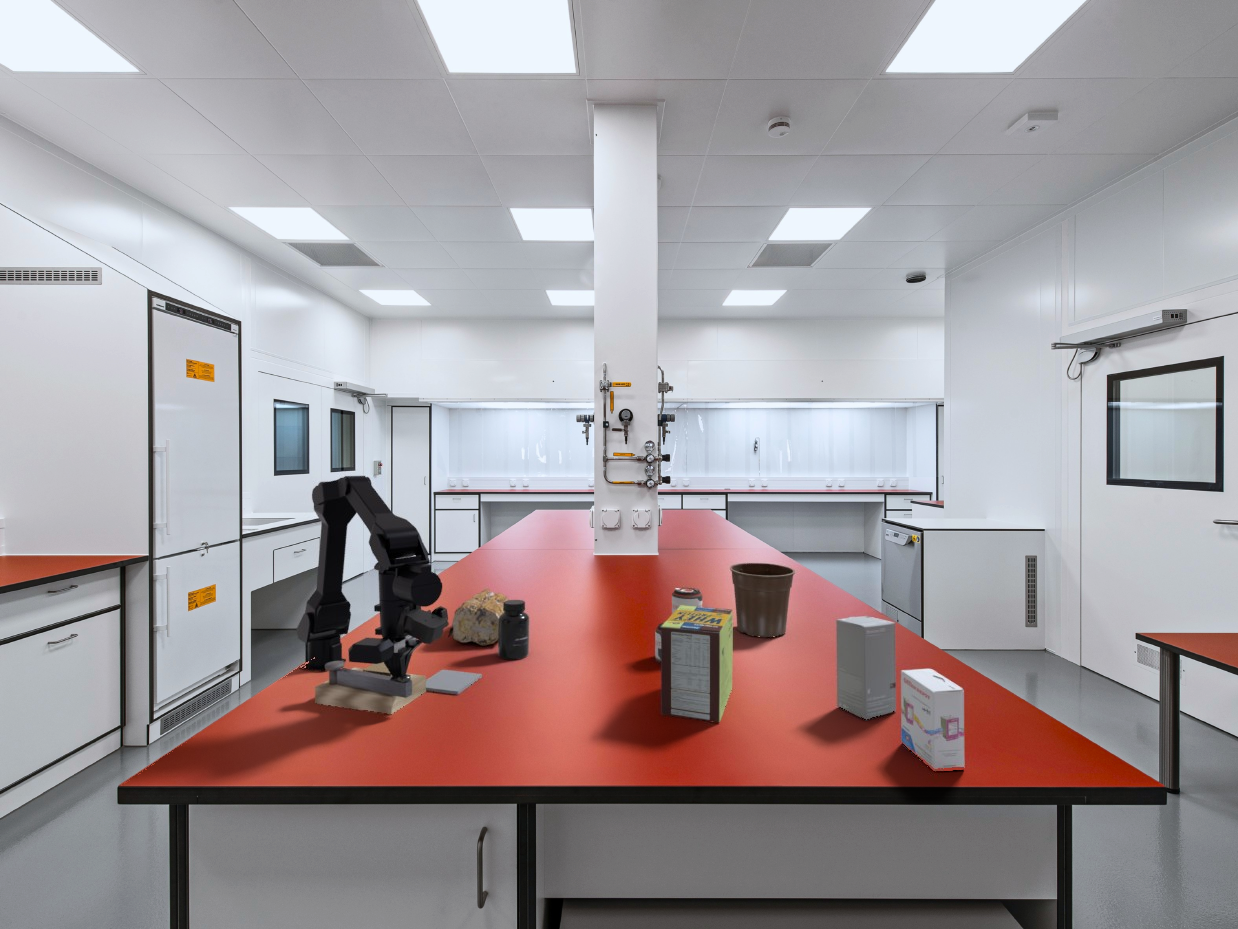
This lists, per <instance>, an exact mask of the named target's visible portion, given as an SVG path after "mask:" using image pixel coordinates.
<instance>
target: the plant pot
mask: <svg viewBox="0 0 1238 929" xmlns="http://www.w3.org/2000/svg"><path fill="white" fill-rule="evenodd" d="M729 569H730V572H731V579H732V585H733V589H734V599H735V603H734V604H735V614H736V629H737V631H738V632H740V633H741V634H747V635H748V636H749V635H753V636H752V637H754V636H760V637H773V636H777V637H779V636H781V635H782V634H784V633H785V632H787V622H788V612H789V600H790V593H791V588H792V586H793V580H794V579H793V578H794V575H795V574H796V571H795V569H793V568H792V567H790V566H786V565H780V564H775V563H768V562H767V563H765V562H743V563H736V564H732V565H730V567H729ZM785 634H786V633H785ZM785 634H784V635H785ZM782 636H783V635H782Z"/></svg>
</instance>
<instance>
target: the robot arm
mask: <svg viewBox="0 0 1238 929" xmlns="http://www.w3.org/2000/svg"><path fill="white" fill-rule="evenodd" d="M311 500H312V503H313V511H314V512H315V514H316V515H317V517H318V519H319V520H320V523H321V526H320V527H321V529H320V539H319V552H318V554H319V555H318V565H317V577H316V589H315V591H314V592H313V594H311V596H310V598H309V599H308V600H307V601H306V605H305V611H304V613H303V614H302V617H301V620H300V621H299V623H298V625H297V627H296V632H297V633H296V634H297V640H300V641H301V642H304V643H305V647H304V648H305V651H304V652H305V654H304V656H305V659H304V660H305V663H306V662H308V661H309V663H308V664H306V665H305V666H306V668H304V667H305V666H303V667H302V668H304V669H302V668H299V669H300V670H301V669H302V670H309V671H315V670H316V671H317V672H327V670H325V664H326V663H329V662H332V661H343V662H344V663H345V662H346V661H347V659H346V658H344V657H343V646H342V645H343V643H342V641H341V640H342V638H341V637H342V635H348V633H349V627H350V622H351V616H352V612H351V607H352V606H351V603H350V601H349V600H348V599H347V598H346V596H345V594H344V593H343V582H344V569H345V558H346V544H347V534H348V525H349V524H350V522H351V521H352V520H353V518H354V517H355V516H356V515H358V516H359V518H360V519H361V521H362V523H363V524H364V525H365V526H366V528H367V530H368V531H369V533H370V535H369V539H368V545H369V547H370V549H371V552H372V555H373V556H374V557H375V559H376V561H377V562H376V563H375V565H374V566H373V568H374V570H375V571H378V597H379V598H378V599H379V602H378V604H375V605H374V607H373V609H374V610H373V612H378V613H379V623H380V624H379V627H377V628H374V635H375V636H381V638H379V637H378V638H377V637H365V638H362V639H361V640H359V641H357V642H354V643H353V644H352V645H351V646H350V647H349V648H348V653H347V654H348V662H349V663H360V664H371V665H373V664H379V663H382V662H384V664H385V665H386V667H387V668H388V670H389V672H390V674H391V675H392V677H397V678H398V676H400V675H403V674H407V672H408V668H409V664H410V661H411V658H412V656H413V653H414V651H415V650H416V649H418V647H419V646H420V645H422V644H425V645H432V644H433V643H435V641H436V640H439V639H441V638H442V636H443V632H444V629H445V628H446V627H448V626H449V624H450V622H449V616H448V609H447V608H446V607H443V606H441V605H439V606H438V607H436V608H434V609H433V610H431V609H428V610H424V609H422V608H423V607H424V608H427V607H430V606H432V605H434V604H435V603H436V602H437V601H438V600H439V598H440V597H441V595H442V592H443V582H442V580H441V578H440V576H439V575H438V574H437V573H435V572H434V571H432V565H431V564H430V563H431V561H430V558H429V554H430V553H429V551H428V550H427V548H426V546H425V544H424V542H423V539H422V537H421V534H420V532H419V531H418V529H417V528H416V527H415V525H414V524H412V523H411V522H410V521H409V520H408V519H406V518H403V517H400V516H398V515H397V514H394V513H393V511H392V510H391V509H390V507H389V506H388V505H387V504H386V502H385V501H384V499H383V498H382V497H381V496H380V495H379V493H378V491H377V490H376V489H375V488H374V486H373V485H372V481H371V477H369V476H366V475H344V476H342V477H340V478H338V479H335V480H330V481H319V483H318V484H317V485H315V486H314V488H313V489H312V493H311ZM314 657H315V659H313V658H314ZM311 659H312V660H311ZM305 663H304V664H305ZM302 665H303V664H301V665H299V666H298V667H300V666H302Z"/></svg>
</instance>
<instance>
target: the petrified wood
mask: <svg viewBox="0 0 1238 929" xmlns="http://www.w3.org/2000/svg"><path fill="white" fill-rule="evenodd" d="M508 600H510V599H509V598H508V596H506V595H504V594H502V593H500V592H499V593H498V592H497V593H495V592H493V591H491V590H490V589H488V588H485V589H483V590H482V591H480V592H479V593H478V592H477V593H476V594H474V595H473V596H472V597H471V598H469V599H467V600H465V601H463V603H462V604H461V605H460V606H458V607H457V609H455V611H454V616H453V617H452V622H451V628H449V632H448V636H447V638H449V637H450V636H452V638H453V639H454V641H456V642H460V643H468V642H473V643H476V644H478V645H480V646H487V645H492V644H495V642H498V627H499V617H500V615H501V614H503V613H504V611H503V603H504V602H505V601H508Z"/></svg>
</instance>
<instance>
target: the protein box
mask: <svg viewBox="0 0 1238 929" xmlns="http://www.w3.org/2000/svg"><path fill="white" fill-rule="evenodd" d="M733 613H734V612H733V609H728V608H719V607H718V608H717V607H715V608H714V607H706V606H702V607H696V606H685V605H680V606H679V607H678V609H677V610H676V611H675V612H674V613H673V614H672V613H671V615H670V616H669V617H668V618H667V619H666V620H665V621H664V622H663V623H664V624H663V625H662V626H661V663H660V706H661V707H660V715H663V716H664V715H665V716H669V717H676V716H677V717H676V718H682V717H686V718H685V719H689V718H692V719H691V720H696V719H700V720H699V721H702V720H706V721H705V722H709V721H713V722H712V723H715V722H720V723H721V721H722V717H723V715H724V713H725V709H726V707H725V706H727V704H728V702H727V701H729V699H728V698H730V696H731V694H730V693H732V691H731V690H733V656H734V655H733V650H734V649H733V643H734V640H733V638H734V636H733V635H734V634H733V632H734V631H733V625H734V623H733V622H734V621H733V620H734V619H733V618H734V617H733V616H734V614H733ZM729 695H730V696H729Z"/></svg>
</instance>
